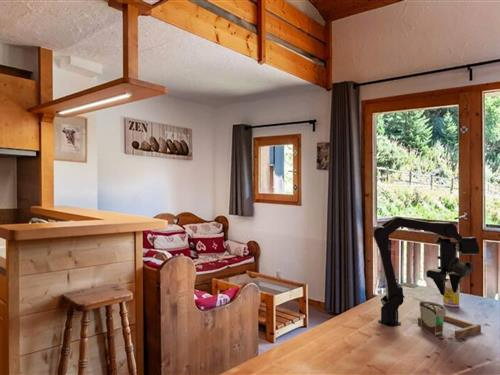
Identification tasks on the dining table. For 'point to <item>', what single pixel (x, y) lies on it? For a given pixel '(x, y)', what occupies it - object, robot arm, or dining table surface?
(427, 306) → the food container
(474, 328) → the bay
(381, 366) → the dining table surface
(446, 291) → the supplement bottle
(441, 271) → the robot arm
